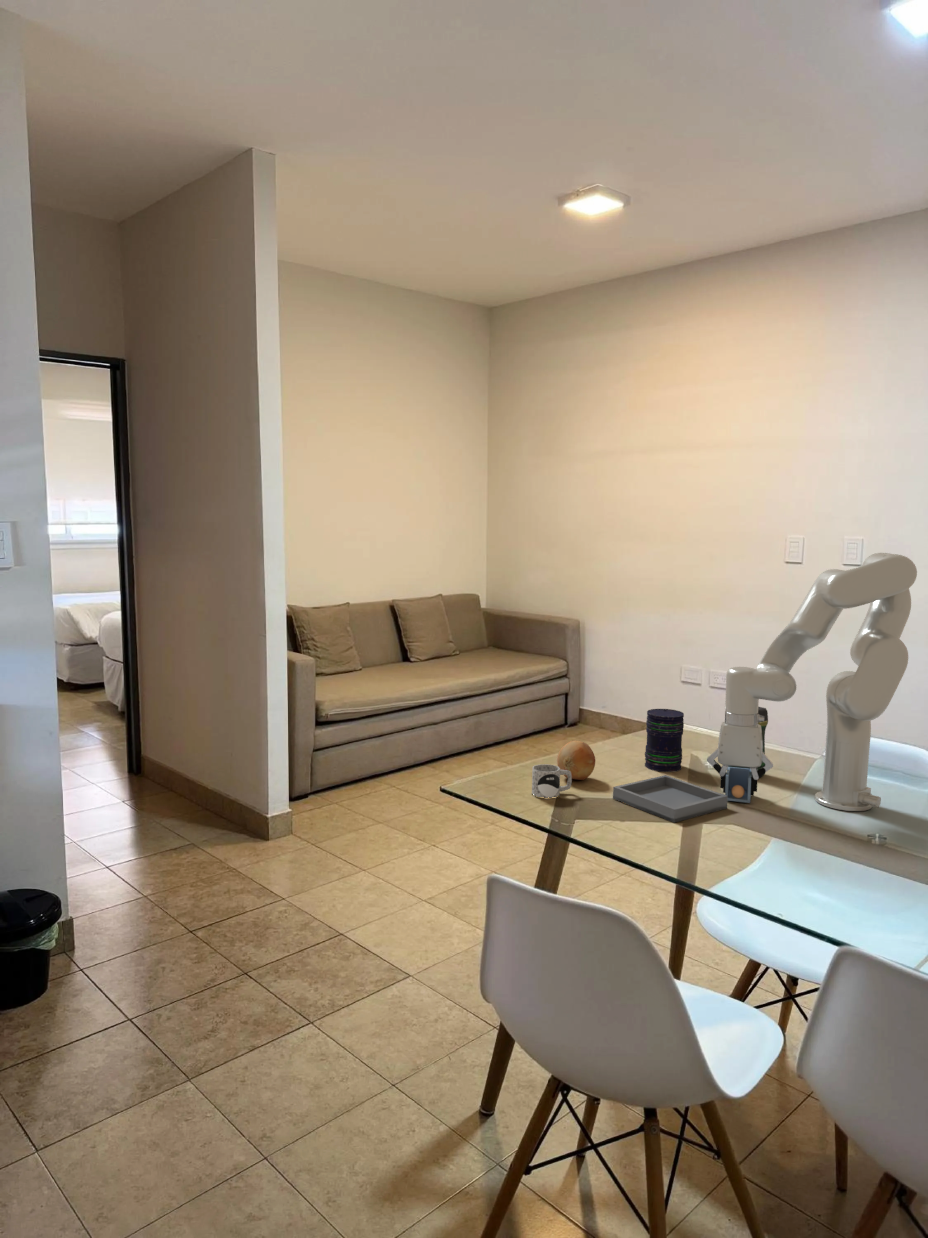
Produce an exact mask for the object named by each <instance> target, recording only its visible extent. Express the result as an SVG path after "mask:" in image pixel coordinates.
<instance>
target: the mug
mask: <svg viewBox="0 0 928 1238" xmlns="http://www.w3.org/2000/svg"><path fill="white" fill-rule="evenodd" d="M564 774H566V775H567V777H568V778H567V782H566V785H563V786H562V785H560V784H561V775H563V776H564ZM531 777H532V778H531V781H532V782H531V795H532V794H533V795H534V796H537V797H544V798H548V797H549V798H552V797H557V796H558V795H559V796H560V794H561V793H560V792H564V791H567V790H570V789H571V787H572V783H573V782H572V781H573V779H572V776H571V772H570V771H568V770H560V768H559V767H558V765H554V764H547V763H546V764H545V763H544V764H543V763H542V764H536V765H533V766H532V775H531ZM534 796H533V797H534Z"/></svg>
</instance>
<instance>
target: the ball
mask: <svg viewBox="0 0 928 1238" xmlns="http://www.w3.org/2000/svg"><path fill="white" fill-rule="evenodd" d="M731 793H732V795H733V796H734V797H736V798H741V797H743V795H744V793H745V791H744V788H743V787H742V786H740V785H735V786H734V787H733V788H732V790H731Z"/></svg>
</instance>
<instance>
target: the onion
mask: <svg viewBox="0 0 928 1238" xmlns="http://www.w3.org/2000/svg"><path fill="white" fill-rule="evenodd" d="M556 758H557V759H556V761H557V763H556V764H557V765H556V766H558V767H559V768H560V770H568V771H570V772H571V776H572V780H576V781H584V780H586V779H587V778H589V777H590V776H591V775H592V773H593V771H594V769H595V766H596V756H595V753H594V751H593V749H592V748H591V746H590V745H589V744H587V743H586V742H585V741H580V740H573V739H572V740H570V741H569V742H567V743H566V744H564V745H563V746H562V747H561V748H560V750H559V751H558V755H557V757H556ZM563 776H564V777H565V778H567V779H568V777H567V775H566V774H564V775H563Z"/></svg>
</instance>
